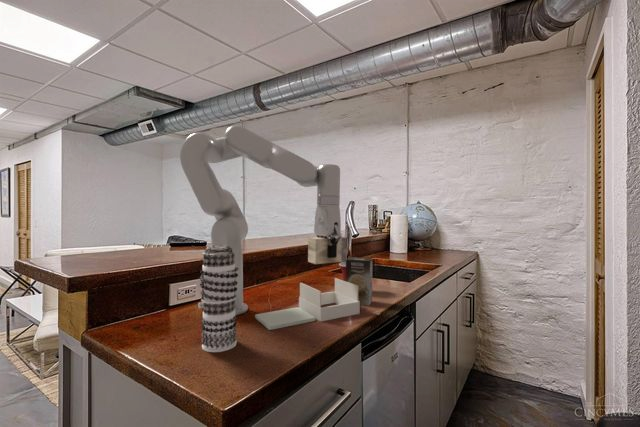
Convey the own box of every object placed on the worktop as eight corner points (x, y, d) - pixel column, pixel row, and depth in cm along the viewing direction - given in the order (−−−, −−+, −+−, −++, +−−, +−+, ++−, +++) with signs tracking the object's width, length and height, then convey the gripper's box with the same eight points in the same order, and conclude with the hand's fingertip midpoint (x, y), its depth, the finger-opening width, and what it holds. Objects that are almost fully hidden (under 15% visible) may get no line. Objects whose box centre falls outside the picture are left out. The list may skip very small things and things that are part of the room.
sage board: (269, 330, 92) (269, 326, 92) (255, 317, 102) (255, 314, 102) (315, 320, 100) (315, 317, 100) (297, 310, 110) (297, 307, 110)
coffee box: (344, 303, 118) (344, 259, 117) (348, 298, 124) (348, 256, 123) (369, 306, 115) (369, 260, 114) (372, 301, 121) (373, 258, 120)
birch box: (315, 264, 104) (315, 239, 103) (307, 261, 108) (308, 237, 108) (346, 261, 110) (346, 237, 109) (338, 259, 114) (338, 236, 114)
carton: (320, 321, 99) (320, 292, 99) (298, 308, 112) (298, 282, 112) (359, 313, 106) (359, 286, 106) (335, 302, 119) (335, 277, 119)
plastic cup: (339, 287, 141) (339, 260, 141) (365, 288, 139) (365, 260, 139) (337, 294, 130) (337, 264, 130) (365, 295, 129) (365, 265, 128)
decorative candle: (240, 349, 79) (240, 247, 79) (200, 355, 76) (199, 249, 76) (236, 335, 88) (236, 243, 88) (200, 340, 85) (199, 245, 84)
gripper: (306, 201, 114) (305, 253, 114) (332, 201, 99) (331, 260, 99) (324, 202, 118) (323, 252, 118) (352, 202, 103) (351, 259, 103)
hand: (327, 255), depth 109 cm, fingers closed on birch box, 5 cm apart
